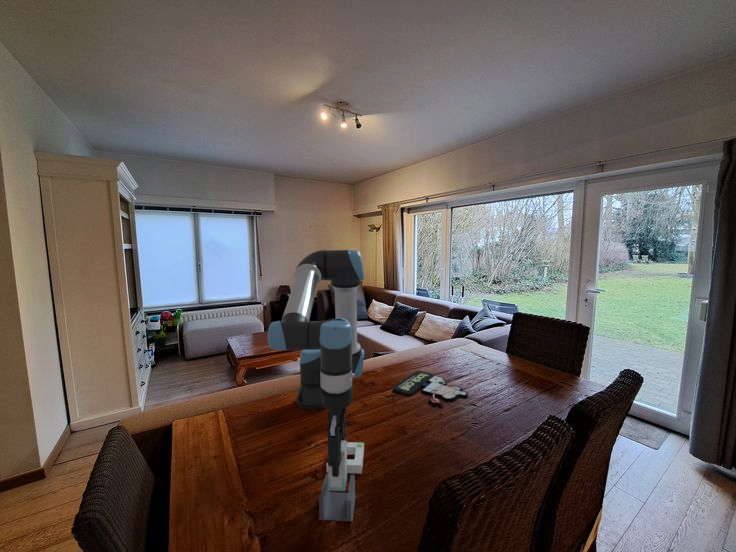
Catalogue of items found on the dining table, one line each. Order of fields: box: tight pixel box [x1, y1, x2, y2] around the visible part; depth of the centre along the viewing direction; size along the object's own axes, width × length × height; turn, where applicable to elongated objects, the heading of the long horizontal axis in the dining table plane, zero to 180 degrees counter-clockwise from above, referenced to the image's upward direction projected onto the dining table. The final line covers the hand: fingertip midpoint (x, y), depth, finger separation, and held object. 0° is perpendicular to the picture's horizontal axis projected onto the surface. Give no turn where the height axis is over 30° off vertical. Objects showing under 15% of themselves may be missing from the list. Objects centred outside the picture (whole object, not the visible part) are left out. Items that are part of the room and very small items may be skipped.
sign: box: [392, 370, 469, 409], centre depth 136 cm, size 27×2×30 cm
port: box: [326, 441, 365, 474], centre depth 89 cm, size 10×10×3 cm
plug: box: [327, 440, 348, 492], centre depth 72 cm, size 4×4×10 cm
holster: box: [318, 473, 357, 522], centre depth 73 cm, size 8×8×6 cm
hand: (337, 477), depth 73 cm, fingers closed on plug, 4 cm apart
